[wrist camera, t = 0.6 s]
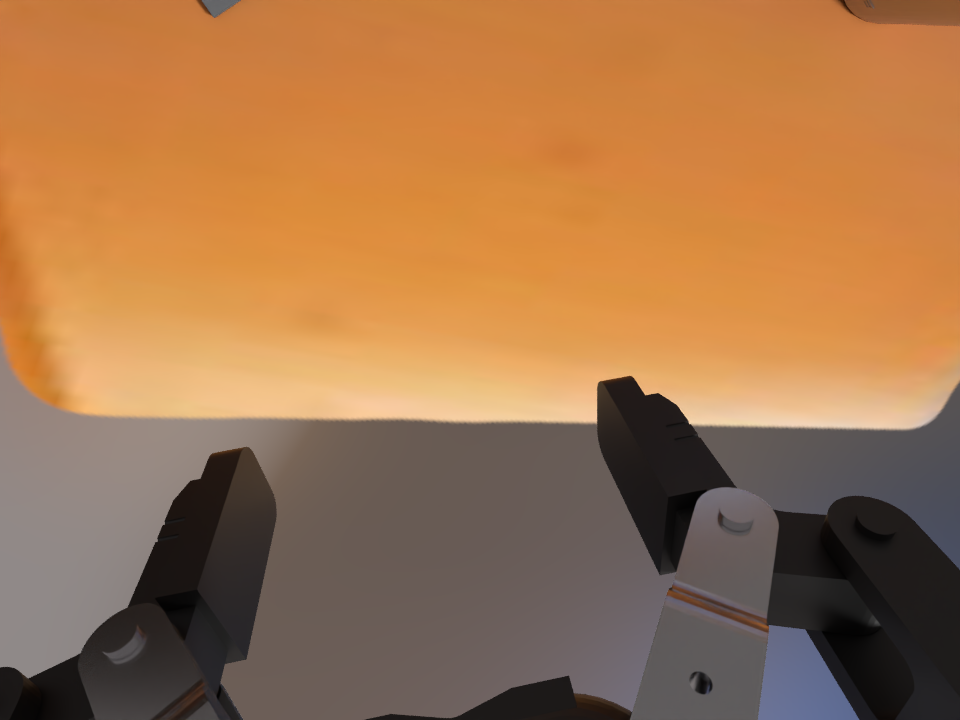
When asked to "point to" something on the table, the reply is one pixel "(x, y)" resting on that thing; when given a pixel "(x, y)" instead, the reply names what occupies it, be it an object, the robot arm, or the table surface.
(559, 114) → the table surface
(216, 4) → the grey flat board
